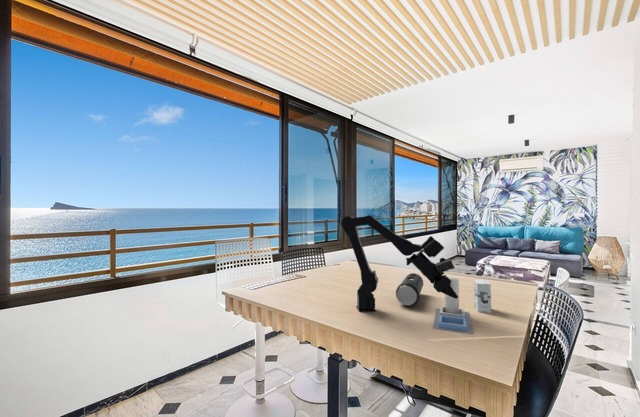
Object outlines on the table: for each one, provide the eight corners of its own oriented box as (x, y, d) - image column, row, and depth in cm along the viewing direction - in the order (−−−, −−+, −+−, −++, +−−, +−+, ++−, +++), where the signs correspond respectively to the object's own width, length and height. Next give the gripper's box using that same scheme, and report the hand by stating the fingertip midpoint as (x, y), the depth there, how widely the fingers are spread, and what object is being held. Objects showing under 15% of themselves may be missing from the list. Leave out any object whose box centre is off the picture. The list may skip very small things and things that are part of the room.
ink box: (474, 306, 121) (473, 278, 121) (487, 308, 119) (486, 279, 119) (477, 313, 113) (476, 283, 113) (491, 314, 111) (491, 284, 111)
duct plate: (473, 336, 90) (473, 329, 91) (432, 329, 95) (432, 323, 96) (469, 313, 112) (469, 308, 112) (436, 309, 117) (436, 304, 117)
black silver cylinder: (424, 294, 141) (423, 273, 142) (418, 310, 116) (418, 285, 116) (404, 292, 145) (404, 271, 146) (395, 307, 120) (394, 283, 120)
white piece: (449, 314, 107) (449, 280, 107) (442, 310, 111) (442, 277, 112) (461, 314, 107) (461, 280, 107) (454, 309, 112) (454, 277, 112)
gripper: (444, 254, 102) (479, 287, 99) (437, 249, 120) (466, 277, 117) (421, 275, 104) (454, 308, 100) (417, 267, 122) (445, 295, 119)
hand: (455, 296), depth 109 cm, fingers closed on white piece, 5 cm apart
